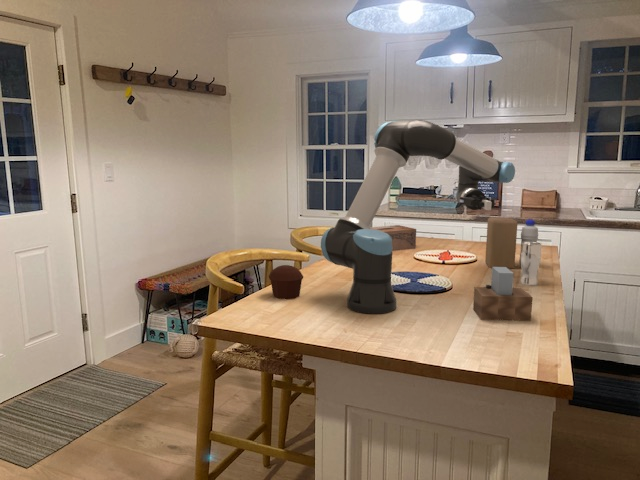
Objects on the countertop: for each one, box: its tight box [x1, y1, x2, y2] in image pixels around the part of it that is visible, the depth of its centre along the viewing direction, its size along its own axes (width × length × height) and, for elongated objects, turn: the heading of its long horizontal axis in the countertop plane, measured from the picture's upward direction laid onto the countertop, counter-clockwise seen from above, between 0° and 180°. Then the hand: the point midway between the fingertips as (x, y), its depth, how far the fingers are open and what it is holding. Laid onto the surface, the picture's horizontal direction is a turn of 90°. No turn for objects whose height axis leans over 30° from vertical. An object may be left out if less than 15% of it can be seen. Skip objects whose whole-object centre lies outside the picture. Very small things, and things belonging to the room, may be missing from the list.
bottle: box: [519, 219, 539, 267], centre depth 214 cm, size 7×7×20 cm
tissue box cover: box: [369, 224, 417, 252], centre depth 255 cm, size 26×14×10 cm, turn 118°
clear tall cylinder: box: [519, 242, 542, 287], centre depth 189 cm, size 7×7×15 cm
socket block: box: [472, 284, 533, 322], centre depth 153 cm, size 14×10×8 cm
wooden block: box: [484, 217, 518, 270], centre depth 216 cm, size 10×10×20 cm
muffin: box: [268, 264, 304, 301], centre depth 172 cm, size 12×11×10 cm
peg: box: [490, 267, 514, 295], centre depth 154 cm, size 4×8×13 cm, turn 176°
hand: (489, 205), depth 170 cm, fingers closed
